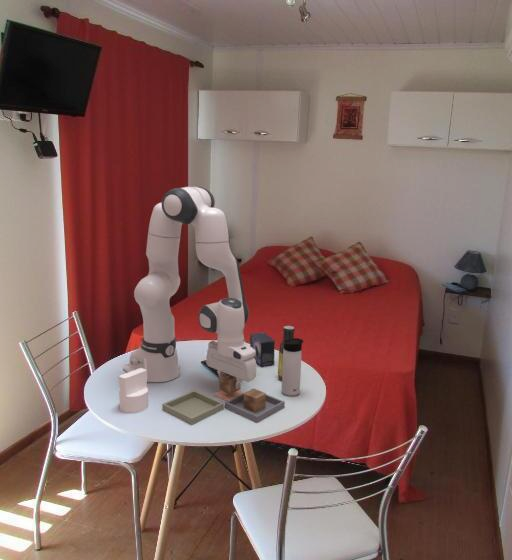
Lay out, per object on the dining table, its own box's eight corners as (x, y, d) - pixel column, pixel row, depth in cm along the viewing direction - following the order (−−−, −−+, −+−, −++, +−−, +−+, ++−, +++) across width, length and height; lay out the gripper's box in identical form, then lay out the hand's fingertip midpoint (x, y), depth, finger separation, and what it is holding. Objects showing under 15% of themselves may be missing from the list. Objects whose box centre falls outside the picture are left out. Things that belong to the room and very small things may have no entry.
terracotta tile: (213, 396, 178) (213, 393, 177) (229, 389, 184) (229, 386, 183) (230, 404, 173) (230, 401, 172) (246, 396, 179) (246, 393, 178)
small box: (248, 358, 212) (249, 333, 209) (263, 355, 215) (263, 331, 212) (259, 367, 203) (260, 342, 200) (274, 365, 205) (275, 340, 203)
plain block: (243, 407, 169) (244, 393, 168) (253, 402, 173) (254, 388, 172) (255, 412, 166) (255, 398, 165) (265, 407, 170) (265, 393, 169)
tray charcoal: (224, 409, 169) (224, 402, 168) (252, 395, 179) (252, 388, 179) (256, 424, 160) (257, 416, 160) (284, 408, 171) (284, 401, 170)
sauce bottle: (288, 383, 189) (290, 331, 184) (274, 379, 193) (276, 327, 188) (298, 377, 194) (300, 327, 189) (284, 373, 198) (286, 323, 193)
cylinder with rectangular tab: (136, 398, 175) (135, 365, 172) (154, 407, 169) (153, 372, 167) (114, 407, 168) (112, 373, 165) (131, 417, 163) (130, 381, 160)
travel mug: (299, 399, 178) (302, 343, 173) (280, 396, 179) (282, 341, 174) (301, 391, 183) (304, 337, 179) (282, 389, 185) (285, 335, 180)
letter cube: (219, 389, 177) (219, 375, 176) (229, 384, 181) (229, 371, 180) (230, 394, 174) (230, 380, 173) (240, 389, 178) (240, 375, 177)
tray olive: (162, 411, 167) (162, 404, 166) (194, 396, 177) (194, 390, 176) (191, 426, 158) (191, 418, 158) (223, 410, 168) (223, 403, 168)
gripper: (202, 341, 178) (202, 379, 181) (246, 357, 165) (245, 397, 168) (215, 336, 183) (214, 373, 186) (259, 352, 170) (258, 391, 173)
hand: (230, 385), depth 177 cm, fingers closed on letter cube, 5 cm apart
